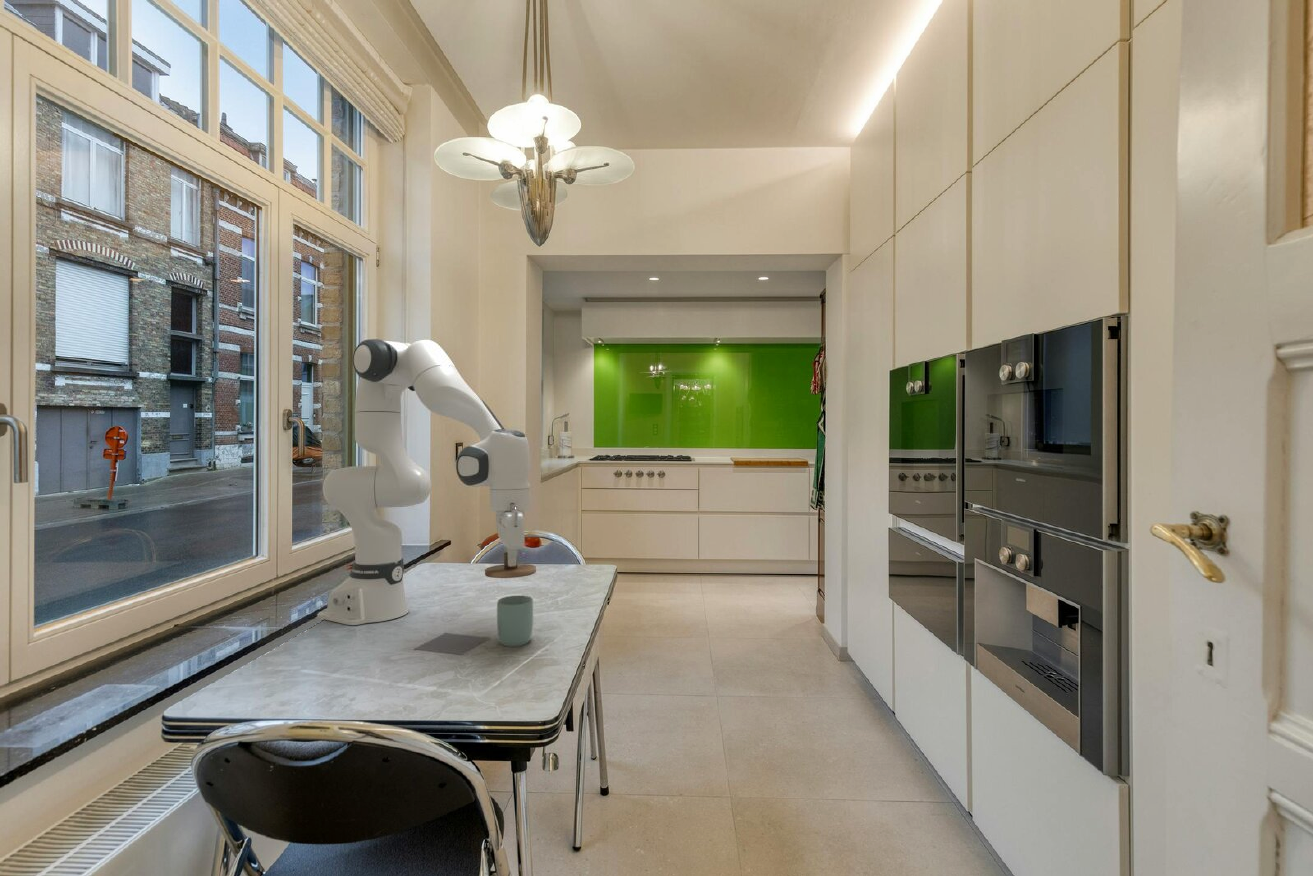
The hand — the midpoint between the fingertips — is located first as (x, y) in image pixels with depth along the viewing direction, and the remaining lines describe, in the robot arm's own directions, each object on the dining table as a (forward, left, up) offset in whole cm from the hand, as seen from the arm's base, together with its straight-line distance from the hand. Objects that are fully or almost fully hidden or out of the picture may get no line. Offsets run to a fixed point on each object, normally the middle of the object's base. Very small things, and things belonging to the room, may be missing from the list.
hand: (510, 564), depth 131 cm
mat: (-12, -4, -18) cm, 22 cm away
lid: (0, 0, -2) cm, 2 cm away
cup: (+1, +1, -18) cm, 18 cm away
